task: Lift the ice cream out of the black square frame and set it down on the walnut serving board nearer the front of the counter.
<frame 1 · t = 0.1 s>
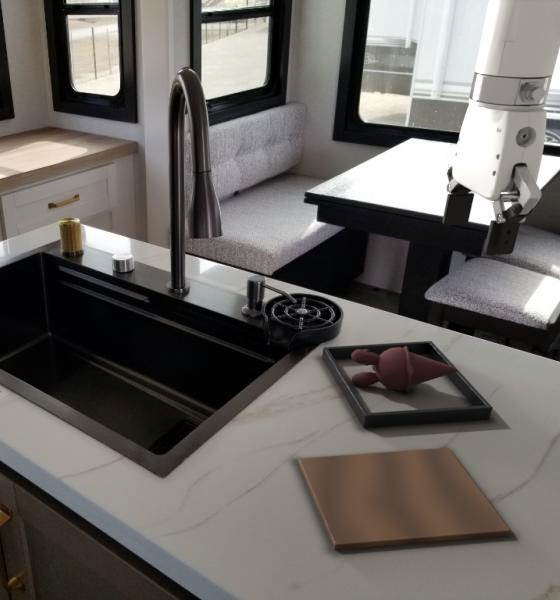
hand: (475, 238, 77), 27 cm above the worktop, tool pointing down, fingers open, 9 cm apart
board: (396, 496, 77), on the worktop
icecream: (398, 388, 97), resting in black square frame
black square frame: (399, 386, 97), on the worktop
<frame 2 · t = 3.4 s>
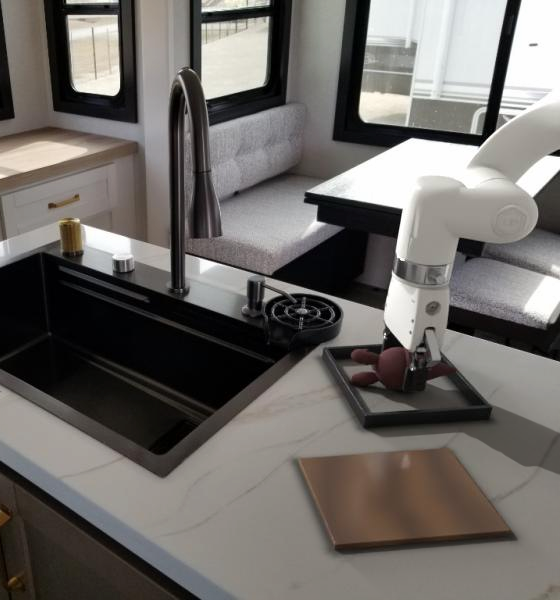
hand: (401, 374, 96), 2 cm above the worktop, tool pointing down, fingers closed on icecream, 7 cm apart
icecream: (398, 387, 97), resting in black square frame, touching gripper
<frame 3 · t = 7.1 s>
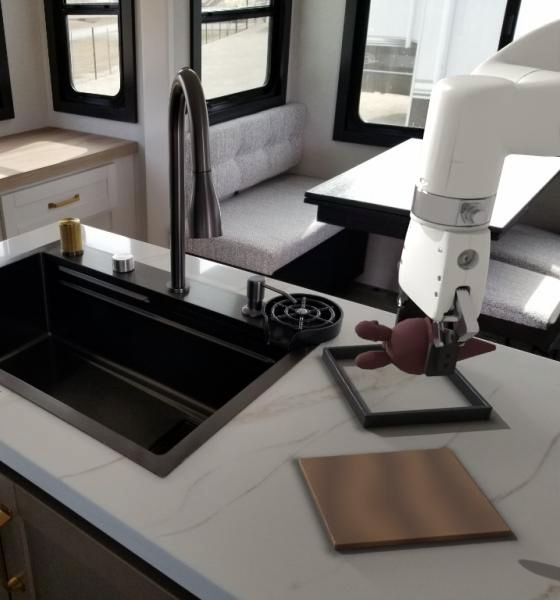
hand: (421, 354, 72), 18 cm above the worktop, tool pointing down, fingers closed on icecream, 7 cm apart
icecream: (417, 372, 74), point 15 cm above the worktop, touching gripper
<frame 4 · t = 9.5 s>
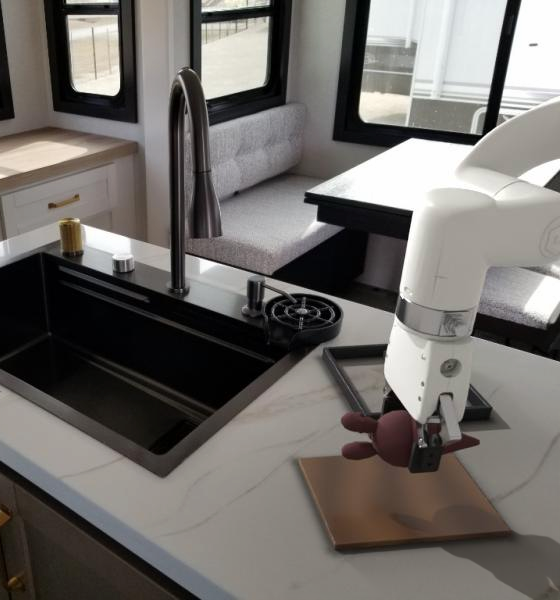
hand: (406, 446, 73), 8 cm above the worktop, tool pointing down, fingers closed on icecream, 7 cm apart
icecream: (402, 462, 74), point 5 cm above the worktop, touching gripper
when the fingers open (3 cm above the worktop, at t = 11.2 s): icecream stays where it is, resting on board.
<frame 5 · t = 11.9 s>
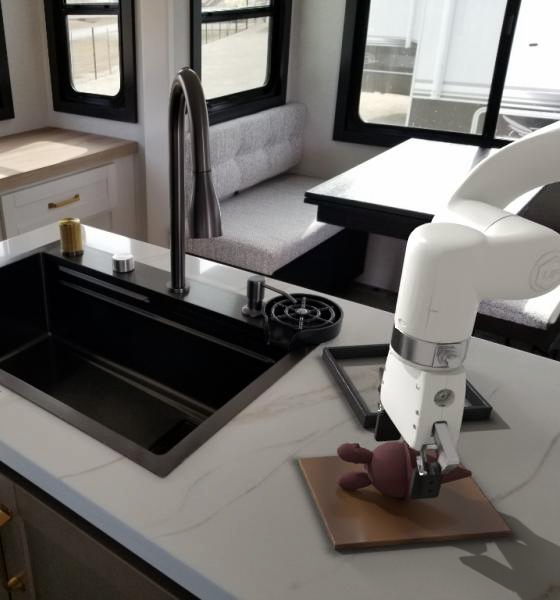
hand: (403, 466, 74), 5 cm above the worktop, tool pointing down, fingers open, 9 cm apart
icecream: (397, 491, 76), point 1 cm above the worktop, touching board
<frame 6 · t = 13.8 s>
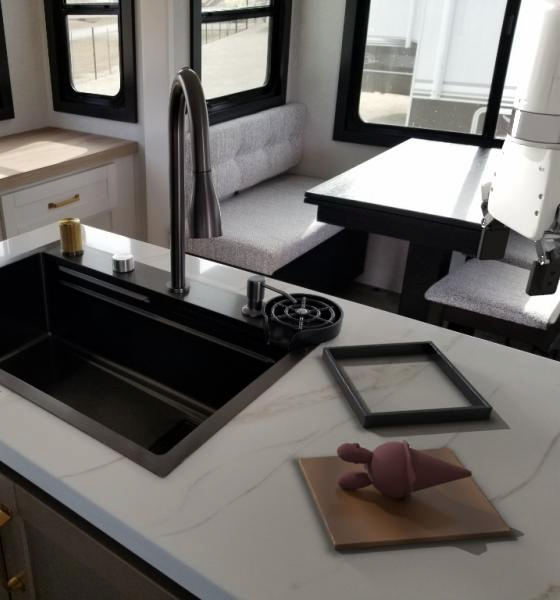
hand: (513, 275, 74), 25 cm above the worktop, tool pointing down, fingers open, 9 cm apart
nothing on the worktop moved.
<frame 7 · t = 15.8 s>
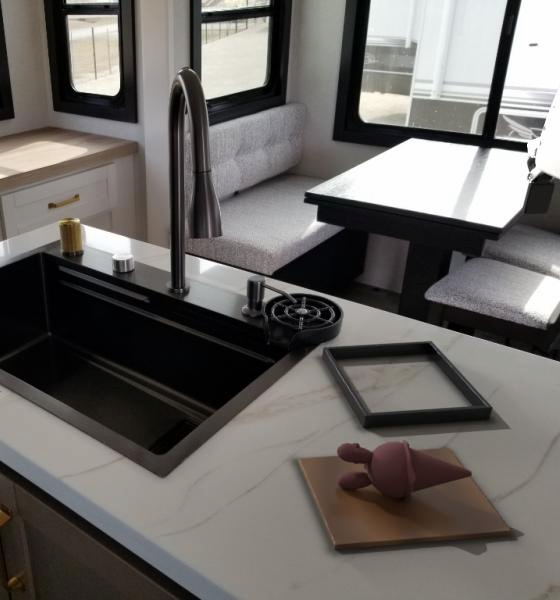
hand: (558, 226, 78), 28 cm above the worktop, tool pointing down, fingers open, 9 cm apart
nothing on the worktop moved.
at the end: icecream inside the target area on the board (0.2 cm from its centre), point 0.6 cm above the board's base; icecream touching board; icecream tilted 0° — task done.
